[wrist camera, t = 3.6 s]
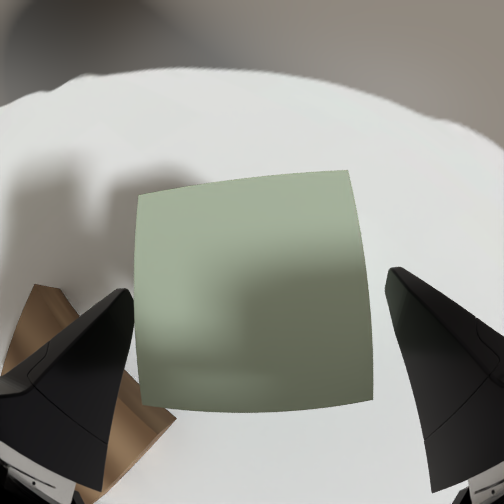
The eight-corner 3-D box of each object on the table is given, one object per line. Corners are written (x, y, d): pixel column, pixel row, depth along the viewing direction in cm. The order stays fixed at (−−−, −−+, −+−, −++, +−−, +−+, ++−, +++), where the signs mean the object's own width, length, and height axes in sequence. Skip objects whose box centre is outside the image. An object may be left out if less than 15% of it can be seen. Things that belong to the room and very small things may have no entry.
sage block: (322, 349, 15) (373, 399, 5) (223, 356, 16) (142, 404, 6) (314, 251, 16) (347, 170, 7) (218, 260, 17) (138, 195, 7)
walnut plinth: (104, 494, 14) (87, 507, 11) (17, 387, 17) (-3, 390, 14) (176, 418, 15) (157, 434, 12) (59, 288, 18) (34, 284, 15)
